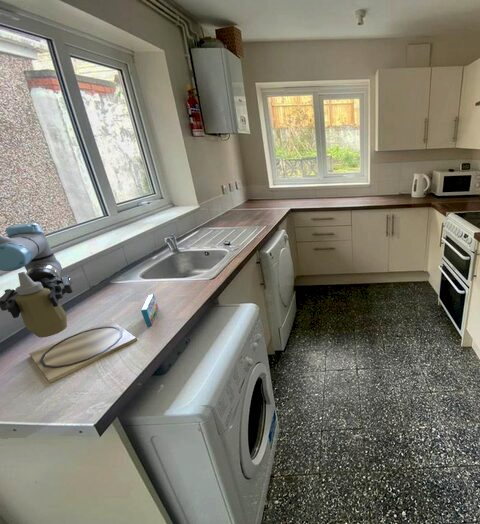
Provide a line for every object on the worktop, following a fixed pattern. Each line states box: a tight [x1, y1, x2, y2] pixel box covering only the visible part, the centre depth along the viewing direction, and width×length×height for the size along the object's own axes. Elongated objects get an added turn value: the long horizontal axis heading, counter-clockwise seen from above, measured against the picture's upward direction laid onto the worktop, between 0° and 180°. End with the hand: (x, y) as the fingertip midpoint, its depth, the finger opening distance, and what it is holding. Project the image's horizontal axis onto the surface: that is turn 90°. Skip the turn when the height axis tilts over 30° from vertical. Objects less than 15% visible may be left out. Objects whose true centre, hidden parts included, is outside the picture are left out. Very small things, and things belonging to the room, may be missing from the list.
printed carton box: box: [140, 293, 160, 327], centre depth 99 cm, size 12×2×6 cm, turn 23°
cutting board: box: [29, 318, 138, 384], centre depth 86 cm, size 20×20×1 cm
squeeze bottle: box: [14, 271, 68, 338], centre depth 76 cm, size 8×8×18 cm
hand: (34, 307), depth 72 cm, fingers closed on squeeze bottle, 6 cm apart
